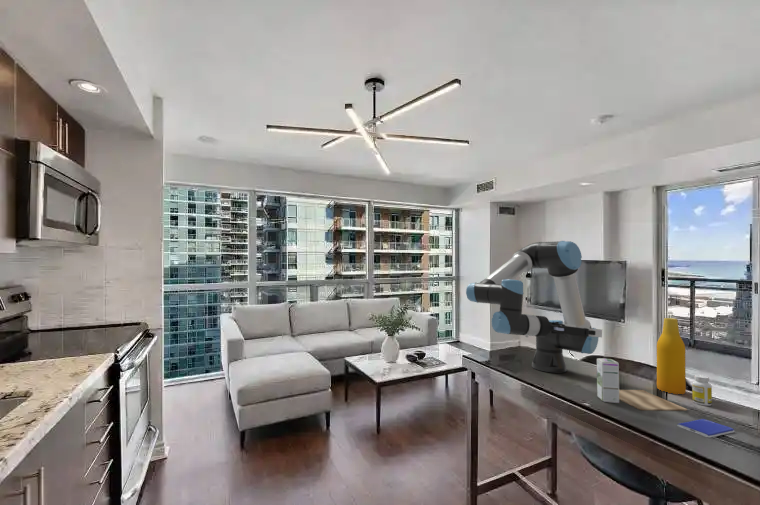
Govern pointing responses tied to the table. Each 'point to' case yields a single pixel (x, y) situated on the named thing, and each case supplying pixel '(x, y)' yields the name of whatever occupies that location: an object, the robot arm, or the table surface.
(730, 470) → the table surface
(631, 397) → the wooden board
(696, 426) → the hard drive
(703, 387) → the supplement bottle
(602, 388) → the syrup box
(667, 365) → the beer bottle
